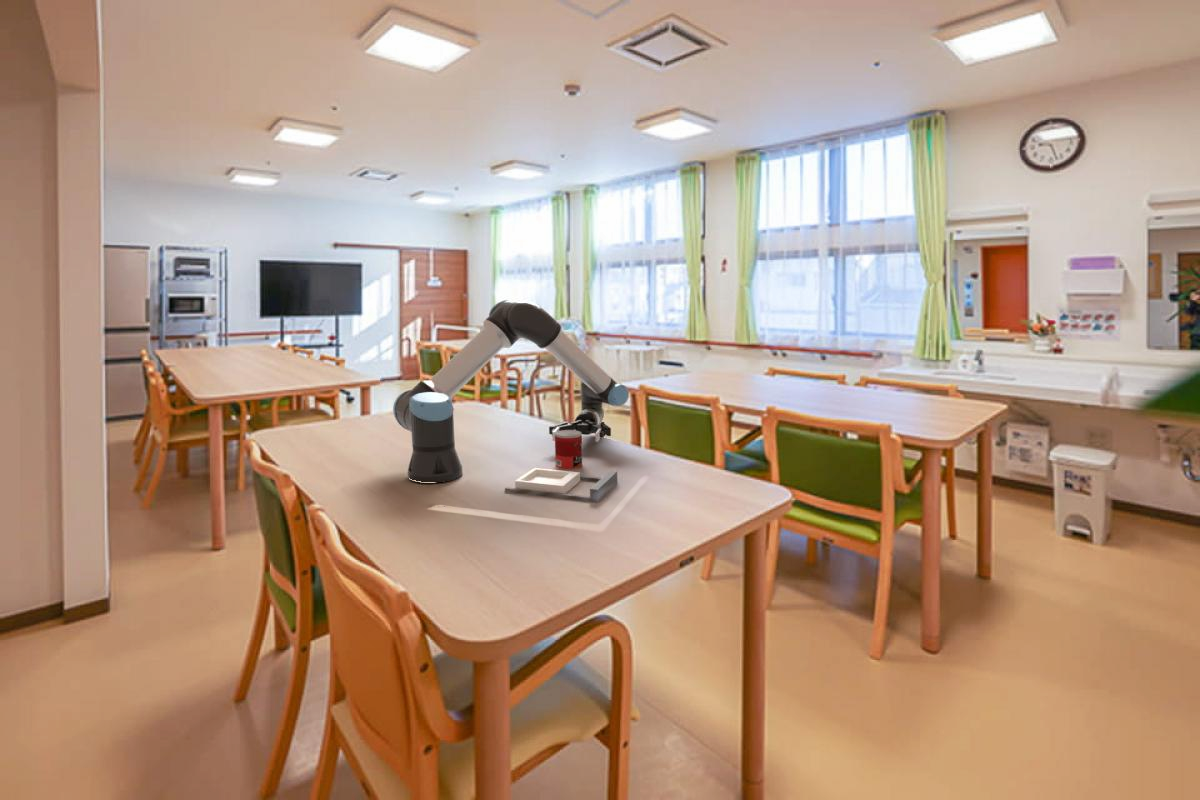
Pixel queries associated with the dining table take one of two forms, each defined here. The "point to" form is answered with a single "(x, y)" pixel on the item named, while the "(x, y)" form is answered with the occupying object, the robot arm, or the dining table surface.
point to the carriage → (548, 480)
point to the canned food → (568, 449)
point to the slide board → (595, 495)
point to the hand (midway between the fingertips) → (575, 437)
